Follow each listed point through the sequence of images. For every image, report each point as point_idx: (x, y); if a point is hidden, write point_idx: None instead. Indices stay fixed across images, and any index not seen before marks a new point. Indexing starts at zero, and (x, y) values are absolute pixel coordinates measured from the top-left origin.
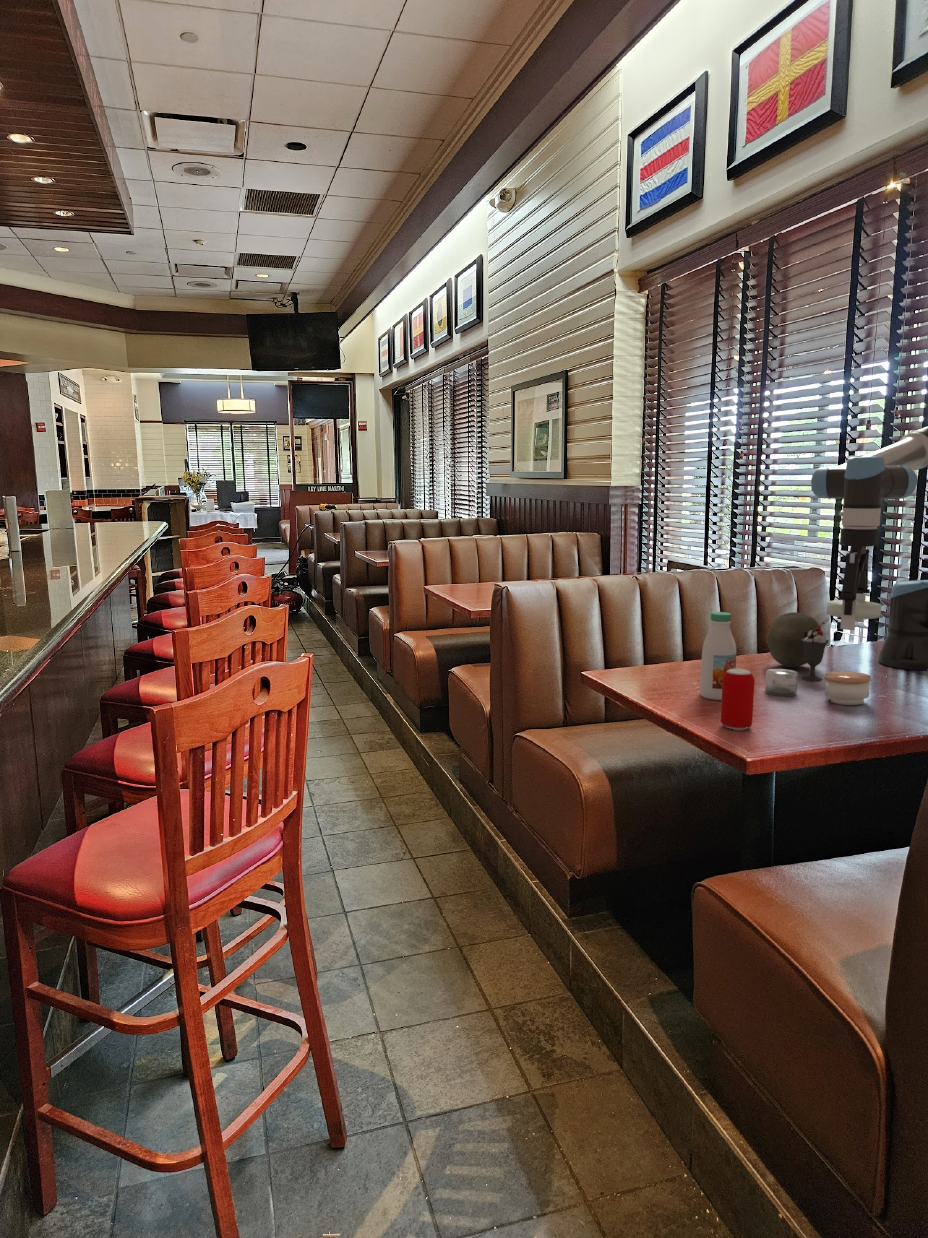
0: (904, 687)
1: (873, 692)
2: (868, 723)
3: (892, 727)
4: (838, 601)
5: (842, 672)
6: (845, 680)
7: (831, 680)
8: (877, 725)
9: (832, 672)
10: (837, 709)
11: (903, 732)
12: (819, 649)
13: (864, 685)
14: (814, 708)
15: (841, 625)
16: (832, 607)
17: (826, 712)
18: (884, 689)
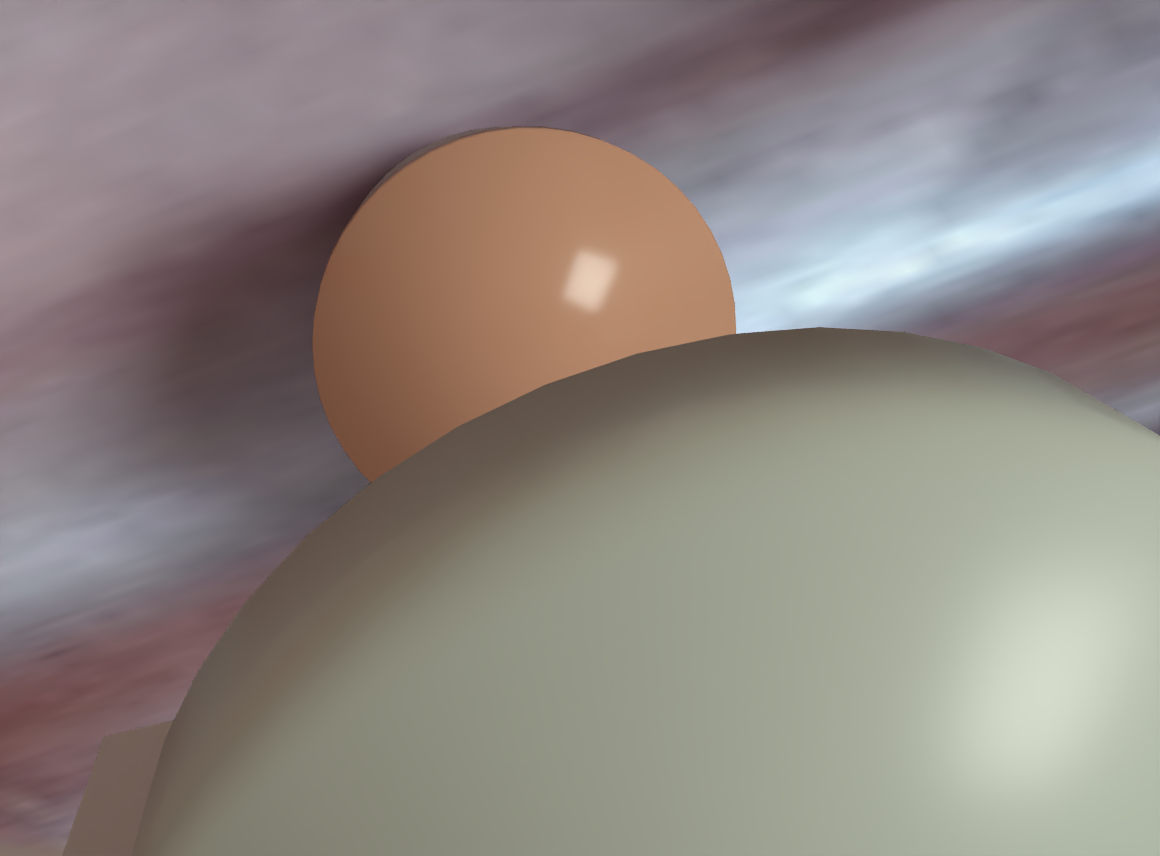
0: (1156, 424)
1: (910, 326)
2: (43, 602)
3: (88, 721)
4: (1081, 715)
5: (661, 255)
6: (325, 411)
7: (326, 268)
8: (49, 653)
9: (610, 172)
10: (224, 319)
11: (36, 793)
12: None
13: None
14: (93, 169)
15: (92, 802)
16: (165, 849)
17: (60, 291)
18: (1037, 350)
